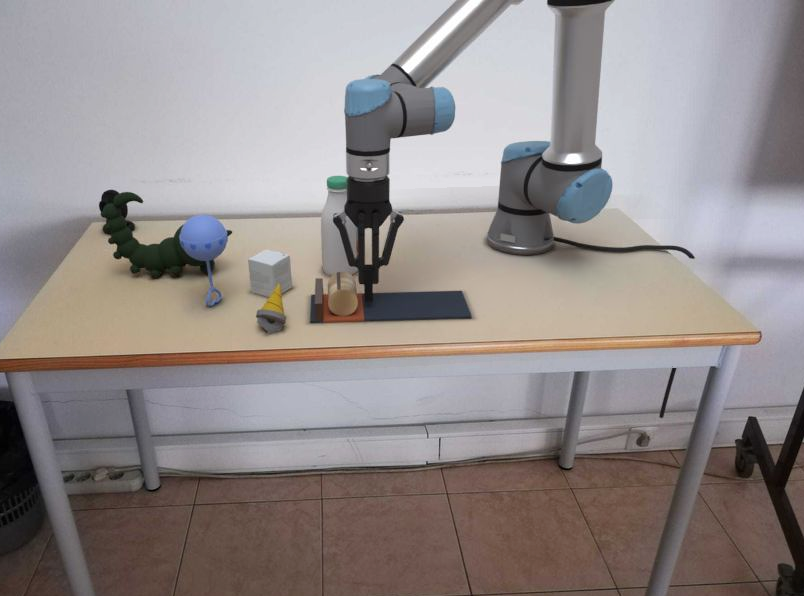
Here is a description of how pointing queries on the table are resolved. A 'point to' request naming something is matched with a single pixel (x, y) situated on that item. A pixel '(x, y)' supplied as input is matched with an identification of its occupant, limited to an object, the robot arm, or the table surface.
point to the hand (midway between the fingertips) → (368, 298)
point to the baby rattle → (204, 243)
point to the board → (393, 306)
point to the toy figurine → (142, 255)
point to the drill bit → (272, 312)
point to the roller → (342, 294)
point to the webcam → (108, 199)
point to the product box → (269, 272)
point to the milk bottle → (336, 229)
